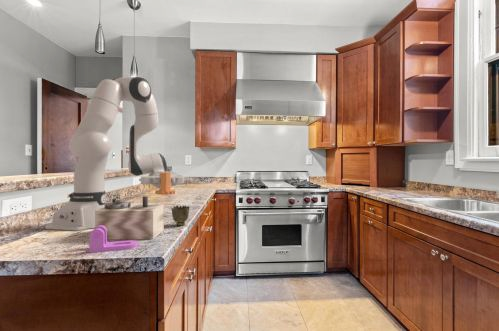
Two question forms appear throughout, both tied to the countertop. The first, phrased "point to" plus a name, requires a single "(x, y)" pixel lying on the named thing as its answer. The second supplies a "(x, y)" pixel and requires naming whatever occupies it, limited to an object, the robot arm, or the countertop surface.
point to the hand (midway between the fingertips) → (165, 181)
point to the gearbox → (131, 219)
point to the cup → (180, 214)
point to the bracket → (101, 245)
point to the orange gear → (165, 184)
